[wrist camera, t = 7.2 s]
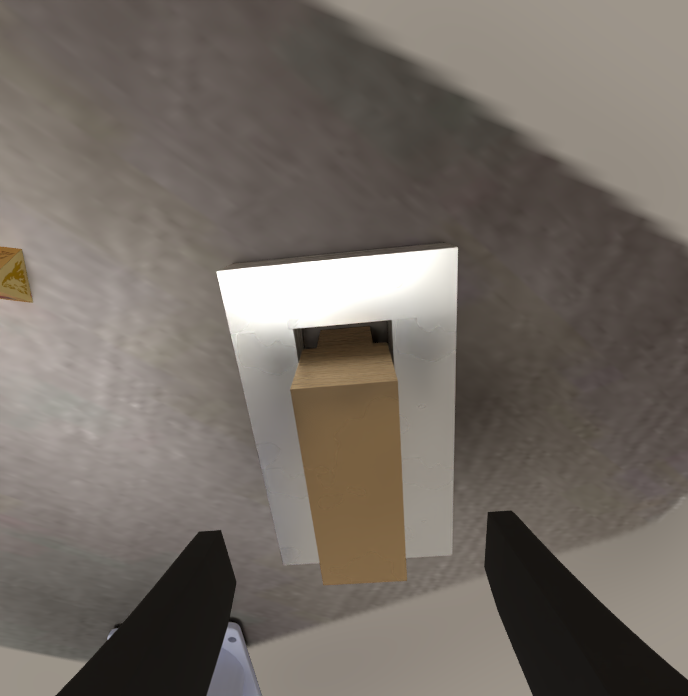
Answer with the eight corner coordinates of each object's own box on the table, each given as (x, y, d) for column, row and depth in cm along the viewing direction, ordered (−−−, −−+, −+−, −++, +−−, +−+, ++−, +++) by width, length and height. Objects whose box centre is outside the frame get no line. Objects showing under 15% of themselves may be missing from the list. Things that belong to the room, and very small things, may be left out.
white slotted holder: (442, 523, 18) (452, 555, 17) (289, 533, 19) (283, 565, 17) (443, 242, 13) (458, 247, 12) (232, 263, 14) (216, 271, 12)
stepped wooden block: (391, 480, 17) (407, 580, 13) (330, 484, 17) (323, 585, 13) (381, 324, 14) (397, 380, 10) (308, 331, 15) (290, 389, 10)
